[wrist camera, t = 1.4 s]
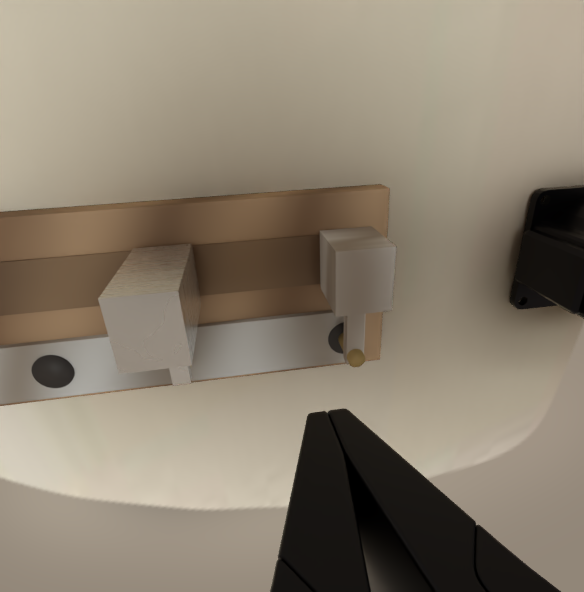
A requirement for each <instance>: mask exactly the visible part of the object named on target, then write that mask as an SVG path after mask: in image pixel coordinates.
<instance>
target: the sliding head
mask: <svg viewBox="0 0 584 592" xmlns="http://www.w3.org/2000/svg"><path fill="white" fill-rule="evenodd" d="M98 301H99V304H100V308H101V311H102V315H103V318H104V322H105V326H106V329H107V333H108V336H109V340H110V343H111V347H112V350H113V354H114V358H115V361H116V365H117V368H118V372H119V374H124V373H133V372H141V371H150V370H158V369H167V368H169V370H170V374H171V379H172V384H173V386H174V385H182V384H190V383H191V380H192V372H191V366H192V361H193V354H194V348H195V341H196V334H197V327H198V321H199V314H200V307H201V298H200V292H199V286H198V279H197V273H196V267H195V261H194V254H193V248H192V244H180V245H169V246H157V247H145V248H134V249H133V250H132V251H131V253H130V254H129V256H128V257H127V258H126V260H125V261H124V263H123V264H122V266H121V267H120V268H119V270H118V271H117V273H116V274H115V275H114V277H113V278H112V280H111V281H110V283H109V284H108V285H107V287H106V288H105V290H104V291H103V293H102V294H101V295H100V297H99V298H98Z"/></svg>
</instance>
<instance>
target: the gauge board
mask: <svg viewBox="0 0 584 592" xmlns="http://www.w3.org/2000/svg"><path fill="white" fill-rule="evenodd" d="M389 194H390V189H389V188H387V187H385V186H383V185H381V184H378V185H364V186H350V187H336V188H323V189H309V190H295V191H282V192H268V193H254V194H241V195H227V196H213V197H200V198H186V199H172V200H159V201H145V202H131V203H117V204H104V205H90V206H76V207H63V208H49V209H35V210H22V211H8V212H0V406H4V405H12V404H20V403H28V402H37V401H45V400H53V399H61V398H69V397H77V396H85V395H94V394H102V393H110V392H118V391H126V390H134V389H143V388H151V387H159V386H167V385H173V384H172V379H171V374H170V370H169V368H167V369H158V370H150V371H141V372H133V373H124V374H119V372H118V368H117V365H116V361H115V358H114V354H113V350H112V347H111V343H110V340H109V336H108V333H107V329H106V326H105V322H104V318H103V315H102V311H101V308H100V304H99V301H98V298H99V297H100V295H101V294H102V293H103V291H104V290H105V288H106V287H107V285H108V284H109V283H110V281H111V280H112V278H113V277H114V275H115V274H116V273H117V271H118V270H119V268H120V267H121V266H122V264H123V263H124V261H125V260H126V258H127V257H128V256H129V254H130V253H131V251H132V250H133V249H134V248H145V247H157V246H169V245H180V244H192V248H193V254H194V261H195V267H196V273H197V279H198V286H199V292H200V298H201V307H200V314H199V321H198V327H197V334H196V341H195V348H194V354H193V361H192V366H191V372H192V380H191V382H200V381H208V380H216V379H224V378H232V377H240V376H249V375H257V374H265V373H273V372H281V371H289V370H297V369H306V368H314V367H322V366H330V365H338V364H350V365H351V366H353V367H359V366H361V365H362V364H363V363H364V362H365V361H371V360H379V359H380V350H381V332H382V315H383V312H385V311H392V304H393V290H394V275H395V261H396V246H395V245H394V244H393V243H392V242H390V241H389V240H388V239H387V229H388V211H389Z"/></svg>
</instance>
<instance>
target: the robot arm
mask: <svg viewBox="0 0 584 592" xmlns="http://www.w3.org/2000/svg"><path fill="white" fill-rule="evenodd" d="M544 196H545V199H544V201H543V202H542V203H541V199H542V198H543V197H544ZM521 298H522V300H521V301H520V302H519V300H520V299H521ZM510 303H511V305H513V306H514V307H516V308H517V309H529V308H538V307H546V306H555V305H558V306H560V307H562V308H563V309H565V310H567V311H568V312H570V313H572V314H577V315H578V316H580V317H582V318H584V185H583V186H571V187H558V188H545V189H539V190H537V191H536V192H535V193H534V194H533V195H532V198H531V201H530V206H529V210H528V215H527V220H526V225H525V230H524V234H523V239H522V244H521V249H520V254H519V258H518V263H517V268H516V273H515V278H514V283H513V287H512V292H511V297H510ZM270 592H561V591H559V590H558V589H557V588H556V587H554V586H553V585H552V584H550V583H549V582H548V581H547V580H545V579H544V578H543V577H541V576H540V575H539V574H537V573H536V572H535V571H534V570H532V569H531V568H530V567H528V566H527V565H526V564H525V563H523V562H522V561H521V560H520V559H519V558H518V557H516V556H515V555H514V554H513V553H512V552H510V551H509V550H508V549H507V548H506V547H505V546H503V545H502V544H501V543H500V542H499V541H497V540H496V539H495V538H494V537H493V536H492V535H491V534H489V533H488V532H487V531H486V530H485V529H484V528H483V527H481V526H480V525H476V522H475V521H474V520H473V519H472V518H471V517H470V516H469V515H467V514H466V513H465V512H464V511H463V510H462V509H461V508H459V507H458V506H457V505H456V504H455V503H454V502H452V501H451V500H450V499H449V498H448V497H447V496H445V494H443V493H442V492H441V491H440V490H439V489H438V488H436V487H435V486H434V485H433V484H432V483H431V482H430V481H429V480H427V479H426V478H425V477H424V476H423V475H422V474H421V473H420V472H418V471H417V470H416V469H415V468H414V467H413V466H412V465H410V464H409V463H408V462H407V461H406V460H405V459H404V458H402V457H401V456H400V455H399V454H398V453H397V452H396V451H394V450H393V449H392V448H391V447H390V446H389V445H388V444H386V443H385V442H384V441H383V440H382V439H381V438H380V437H378V436H377V435H376V434H375V433H374V432H373V431H372V430H370V429H369V428H368V427H367V426H366V425H365V424H364V423H362V422H361V421H360V420H359V419H358V418H357V417H356V416H354V415H353V414H352V413H351V412H350V411H349V410H347V409H337V410H330V411H329V412H328V413H327V412H325V411H322V412H315V413H310V414H308V416H307V421H306V425H305V430H304V435H303V440H302V445H301V449H300V454H299V459H298V464H297V468H296V473H295V478H294V483H293V488H292V492H291V497H290V502H289V507H288V511H287V516H286V521H285V526H284V530H283V536H282V540H281V545H280V550H279V555H278V560H277V563H276V567H275V572H274V577H273V582H272V586H271V590H270Z"/></svg>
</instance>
